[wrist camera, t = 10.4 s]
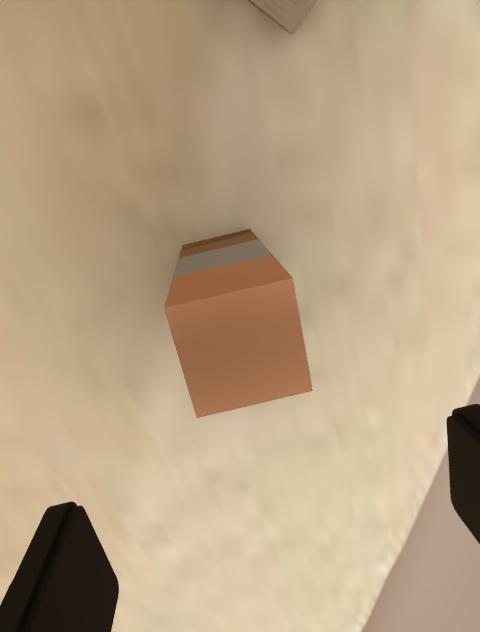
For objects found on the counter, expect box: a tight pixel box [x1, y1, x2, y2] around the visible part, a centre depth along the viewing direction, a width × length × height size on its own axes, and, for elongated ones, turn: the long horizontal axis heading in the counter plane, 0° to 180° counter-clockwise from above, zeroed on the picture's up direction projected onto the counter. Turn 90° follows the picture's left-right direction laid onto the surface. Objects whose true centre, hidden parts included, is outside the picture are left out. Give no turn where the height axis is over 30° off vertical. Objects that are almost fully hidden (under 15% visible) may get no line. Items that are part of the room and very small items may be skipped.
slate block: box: [173, 239, 271, 278], centre depth 28 cm, size 6×6×6 cm
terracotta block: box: [164, 254, 313, 418], centre depth 22 cm, size 6×6×6 cm
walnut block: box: [179, 229, 258, 258], centre depth 34 cm, size 6×6×6 cm
